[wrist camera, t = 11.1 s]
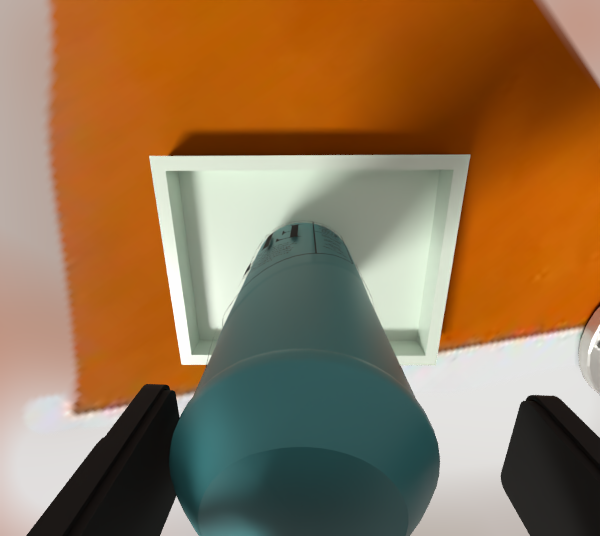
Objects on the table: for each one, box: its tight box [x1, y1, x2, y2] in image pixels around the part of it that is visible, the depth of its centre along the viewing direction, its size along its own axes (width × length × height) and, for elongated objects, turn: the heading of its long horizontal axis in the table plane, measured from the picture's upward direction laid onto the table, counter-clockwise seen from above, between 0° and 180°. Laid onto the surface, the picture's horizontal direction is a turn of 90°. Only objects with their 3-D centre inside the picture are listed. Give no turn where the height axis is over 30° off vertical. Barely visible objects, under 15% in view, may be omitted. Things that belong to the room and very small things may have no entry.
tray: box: [149, 154, 471, 365], centre depth 21 cm, size 18×14×2 cm
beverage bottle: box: [169, 221, 440, 536], centre depth 12 cm, size 6×7×20 cm
